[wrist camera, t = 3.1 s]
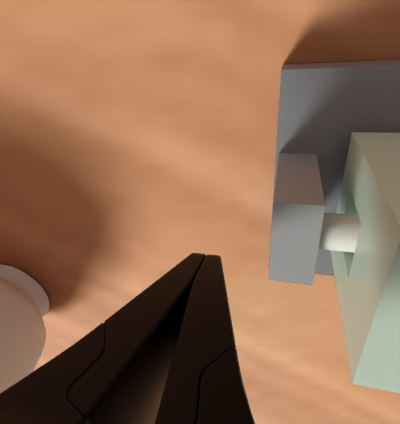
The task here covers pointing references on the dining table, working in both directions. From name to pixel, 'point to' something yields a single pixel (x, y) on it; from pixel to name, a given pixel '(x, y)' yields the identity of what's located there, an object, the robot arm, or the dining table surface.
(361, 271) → the sleeve
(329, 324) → the dining table surface
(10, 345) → the teacup
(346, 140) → the board
